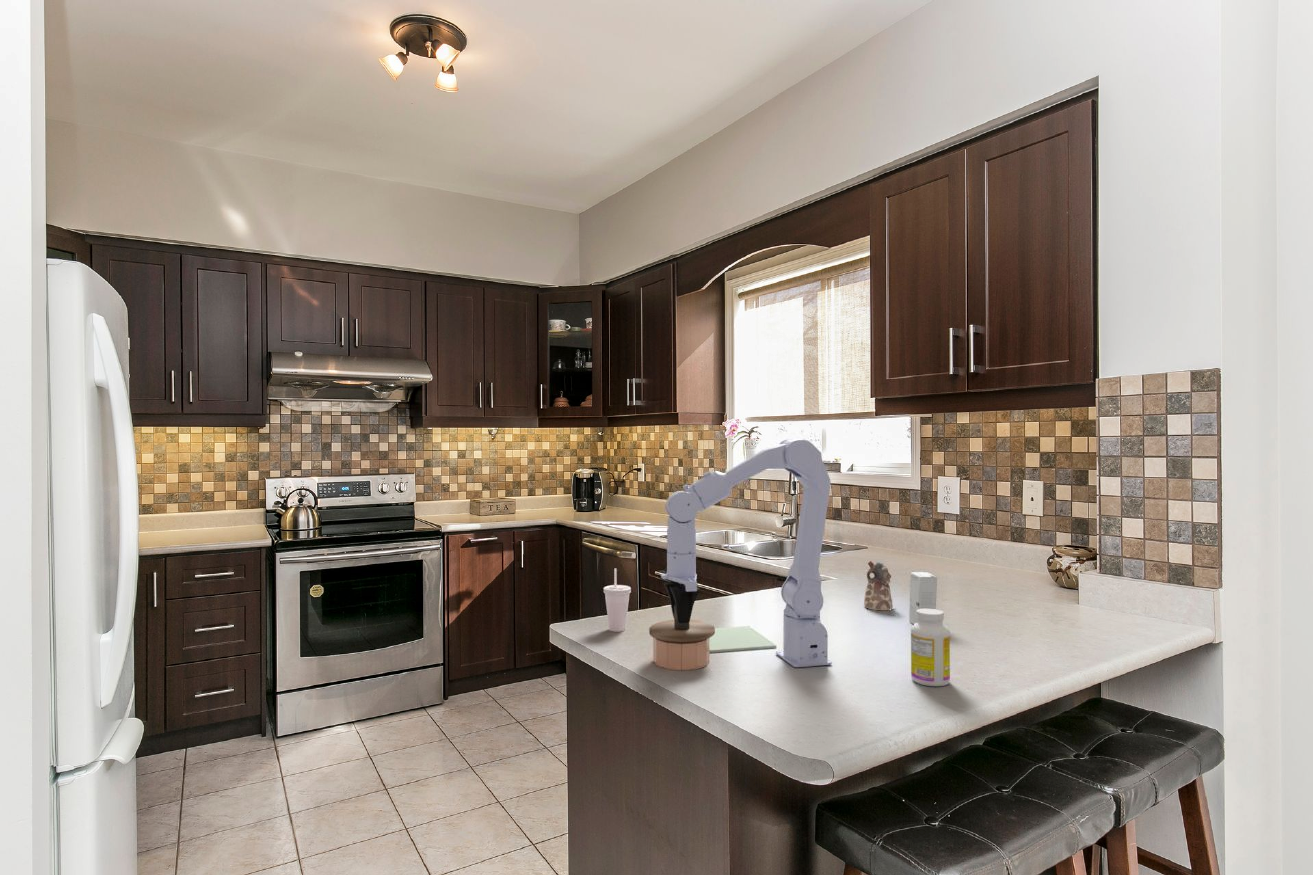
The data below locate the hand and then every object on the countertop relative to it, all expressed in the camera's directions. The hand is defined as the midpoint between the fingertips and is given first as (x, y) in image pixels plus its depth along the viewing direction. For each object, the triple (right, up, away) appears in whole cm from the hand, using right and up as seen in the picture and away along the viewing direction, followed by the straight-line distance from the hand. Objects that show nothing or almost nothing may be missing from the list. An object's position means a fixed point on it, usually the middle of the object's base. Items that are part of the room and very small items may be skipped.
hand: (681, 620), depth 145 cm
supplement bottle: (+45, -8, -12) cm, 47 cm away
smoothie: (-14, -8, +23) cm, 28 cm away
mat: (+11, -8, +15) cm, 20 cm away
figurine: (+53, -8, +45) cm, 70 cm away
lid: (0, -2, 0) cm, 2 cm away
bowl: (0, -8, 0) cm, 8 cm away
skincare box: (+58, -8, +28) cm, 65 cm away
